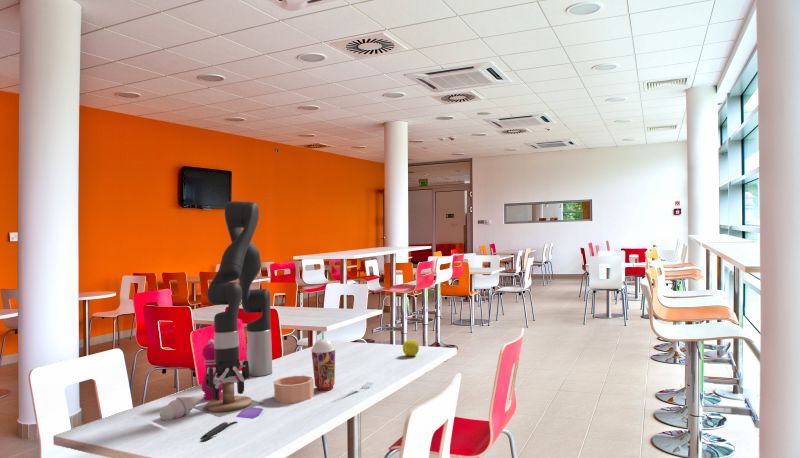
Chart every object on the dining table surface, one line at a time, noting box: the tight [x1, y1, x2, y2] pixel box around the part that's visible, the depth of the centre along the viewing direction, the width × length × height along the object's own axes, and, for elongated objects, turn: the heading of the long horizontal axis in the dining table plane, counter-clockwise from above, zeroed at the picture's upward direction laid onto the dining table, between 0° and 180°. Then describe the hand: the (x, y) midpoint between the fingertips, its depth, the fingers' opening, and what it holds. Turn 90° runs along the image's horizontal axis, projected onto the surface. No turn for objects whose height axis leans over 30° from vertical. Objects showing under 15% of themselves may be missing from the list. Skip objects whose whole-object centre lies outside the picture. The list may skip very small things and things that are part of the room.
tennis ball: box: [402, 339, 420, 357], centre depth 246 cm, size 7×7×7 cm
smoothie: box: [311, 330, 336, 392], centre depth 199 cm, size 8×8×20 cm
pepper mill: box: [201, 338, 225, 401], centre depth 191 cm, size 7×7×20 cm
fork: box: [331, 381, 374, 403], centre depth 189 cm, size 3×24×2 cm, turn 147°
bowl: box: [273, 375, 315, 404], centre depth 187 cm, size 12×12×6 cm
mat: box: [193, 399, 266, 418], centre depth 181 cm, size 16×16×1 cm
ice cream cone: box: [159, 395, 205, 421], centre depth 174 cm, size 6×6×15 cm
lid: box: [205, 381, 253, 412], centre depth 181 cm, size 14×14×7 cm
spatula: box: [199, 407, 264, 443], centre depth 162 cm, size 24×7×2 cm, turn 158°
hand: (228, 396), depth 181 cm, fingers open, 8 cm apart
